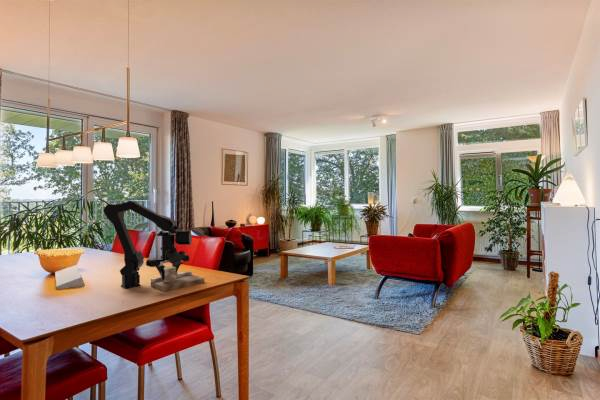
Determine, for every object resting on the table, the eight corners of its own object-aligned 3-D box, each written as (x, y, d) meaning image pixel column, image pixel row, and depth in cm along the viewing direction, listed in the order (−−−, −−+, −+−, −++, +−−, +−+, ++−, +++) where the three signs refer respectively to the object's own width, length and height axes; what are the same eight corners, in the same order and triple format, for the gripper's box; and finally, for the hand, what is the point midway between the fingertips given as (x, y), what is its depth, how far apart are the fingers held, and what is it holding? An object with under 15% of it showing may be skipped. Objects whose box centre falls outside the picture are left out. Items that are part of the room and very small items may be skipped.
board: (164, 291, 146) (164, 283, 146) (150, 286, 155) (150, 278, 155) (204, 282, 161) (204, 275, 161) (189, 277, 170) (189, 271, 170)
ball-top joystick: (171, 284, 150) (171, 271, 150) (161, 280, 156) (161, 268, 156) (181, 282, 154) (181, 269, 154) (171, 278, 160) (171, 266, 160)
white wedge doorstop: (60, 296, 151) (85, 286, 156) (56, 286, 150) (81, 277, 156) (58, 280, 178) (79, 272, 184) (55, 272, 177) (76, 264, 183)
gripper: (156, 249, 144) (157, 285, 144) (195, 244, 158) (196, 277, 158) (145, 247, 151) (145, 281, 152) (183, 242, 165) (183, 273, 166)
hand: (168, 278), depth 157 cm, fingers closed on ball-top joystick, 5 cm apart
